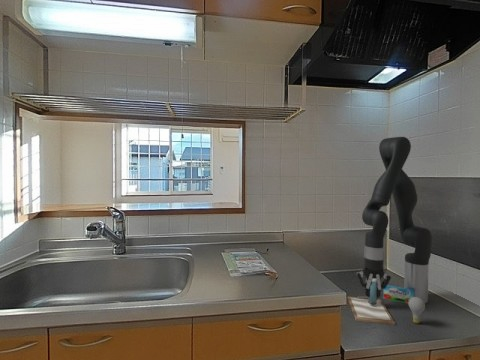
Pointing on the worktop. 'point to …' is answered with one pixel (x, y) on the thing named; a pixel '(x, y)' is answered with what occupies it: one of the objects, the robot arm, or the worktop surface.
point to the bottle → (373, 292)
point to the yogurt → (397, 294)
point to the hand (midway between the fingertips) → (372, 296)
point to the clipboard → (370, 311)
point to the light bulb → (416, 308)
